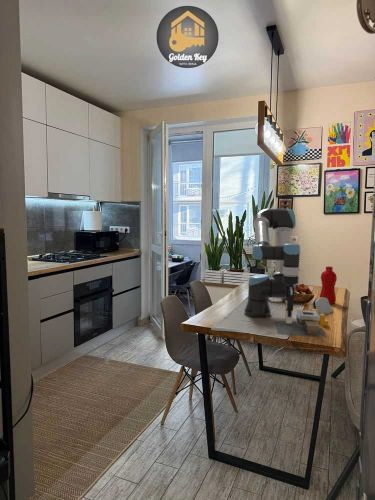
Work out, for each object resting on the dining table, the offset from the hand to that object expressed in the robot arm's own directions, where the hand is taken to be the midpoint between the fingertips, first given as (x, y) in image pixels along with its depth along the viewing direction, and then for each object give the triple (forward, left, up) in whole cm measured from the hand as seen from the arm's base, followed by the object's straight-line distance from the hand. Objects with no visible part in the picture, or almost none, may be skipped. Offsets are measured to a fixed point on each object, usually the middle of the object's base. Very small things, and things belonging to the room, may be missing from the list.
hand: (288, 321), depth 171 cm
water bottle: (+34, +73, -6) cm, 80 cm away
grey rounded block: (+25, +45, -6) cm, 52 cm away
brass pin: (0, 0, -2) cm, 2 cm away
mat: (+6, +7, -5) cm, 10 cm away
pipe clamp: (+19, +20, -6) cm, 28 cm away
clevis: (+11, +7, -5) cm, 14 cm away
